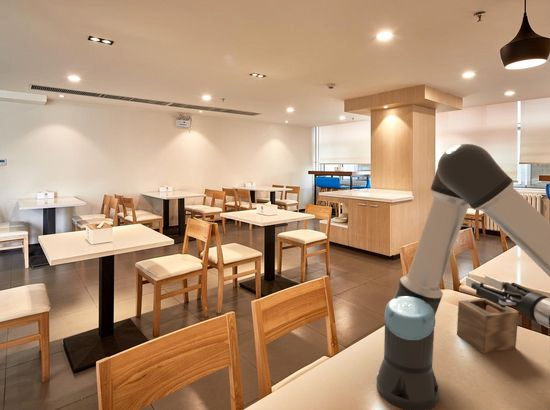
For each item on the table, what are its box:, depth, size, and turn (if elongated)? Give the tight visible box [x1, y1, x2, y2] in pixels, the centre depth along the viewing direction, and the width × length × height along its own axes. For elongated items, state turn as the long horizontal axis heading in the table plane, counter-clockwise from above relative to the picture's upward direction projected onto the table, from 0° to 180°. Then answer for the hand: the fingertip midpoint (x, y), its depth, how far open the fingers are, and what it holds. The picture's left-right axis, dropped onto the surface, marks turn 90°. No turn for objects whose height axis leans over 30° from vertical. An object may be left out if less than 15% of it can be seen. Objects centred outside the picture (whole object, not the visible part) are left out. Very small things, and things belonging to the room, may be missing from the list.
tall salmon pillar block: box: [485, 305, 502, 313], centre depth 107 cm, size 3×5×10 cm, turn 8°
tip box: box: [456, 297, 519, 353], centre depth 107 cm, size 12×11×12 cm
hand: (476, 280), depth 110 cm, fingers open, 7 cm apart
